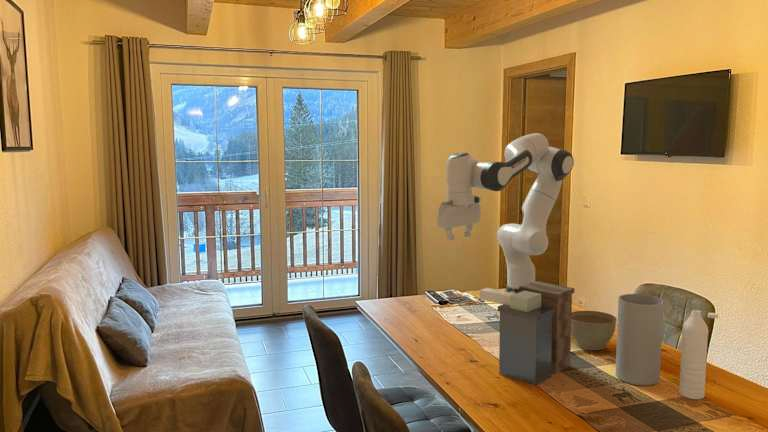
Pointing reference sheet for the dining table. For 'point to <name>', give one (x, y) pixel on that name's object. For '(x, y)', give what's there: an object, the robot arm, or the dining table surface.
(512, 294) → the mallet
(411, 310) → the dining table surface
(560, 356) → the tall stand
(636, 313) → the cylinder vase
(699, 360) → the water bottle
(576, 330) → the planter bowl
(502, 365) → the dark grey box
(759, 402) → the dining table surface
